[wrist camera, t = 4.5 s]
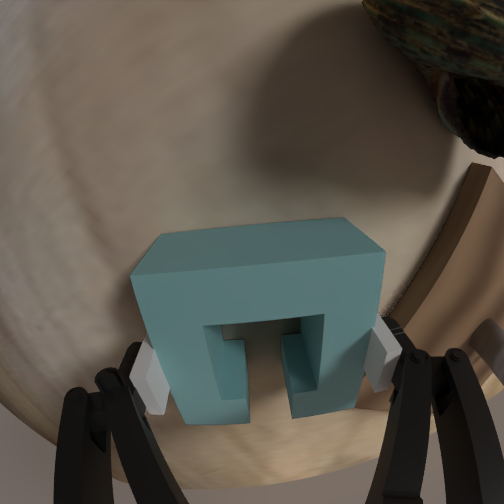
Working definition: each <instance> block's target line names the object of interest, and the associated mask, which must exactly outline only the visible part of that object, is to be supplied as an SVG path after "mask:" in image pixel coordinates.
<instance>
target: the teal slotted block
mask: <svg viewBox="0 0 504 504" xmlns="http://www.w3.org/2000/svg"><path fill="white" fill-rule="evenodd" d="M385 255H386V251H385V250H383V249H382V248H381V247H380V246H379V245H378V244H376V243H375V242H374V241H373V240H371V239H370V238H369V237H368V236H367V235H365V234H364V233H363V232H362V231H360V230H359V229H358V228H357V227H355V226H354V225H353V224H352V223H350V222H349V221H348V220H347V219H345V218H344V217H343V218H328V219H315V220H302V221H290V222H278V223H266V224H255V225H244V226H234V227H224V228H214V229H204V230H194V231H185V232H176V233H167V234H161V235H160V236H159V237H158V239H157V240H156V241H155V243H154V244H153V245H152V246H151V248H150V249H149V250H148V252H147V253H146V254H145V256H144V257H143V258H142V260H141V261H140V262H139V264H138V265H137V266H136V268H135V269H134V270H133V272H132V273H131V275H130V279H131V282H132V286H133V289H134V293H135V296H136V299H137V303H138V306H139V309H140V312H141V315H142V318H143V321H144V324H145V327H146V330H147V333H148V336H149V338H150V341H151V344H152V347H153V349H155V352H156V354H157V357H158V360H159V362H160V365H161V367H162V370H163V372H164V375H165V377H166V380H167V382H168V384H169V387H170V391H171V394H172V396H173V398H174V400H175V403H176V405H177V407H178V409H179V411H180V413H181V415H182V418H183V420H184V422H185V424H186V425H227V424H246V423H250V406H249V386H248V366H247V358H246V351H245V344H244V339H239V340H225V341H224V338H223V333H222V327H221V325H222V324H235V323H247V322H257V321H268V320H277V319H286V318H295V317H301V333H297V334H289V335H281V352H282V366H283V372H284V377H285V382H286V388H287V393H288V399H289V404H290V410H291V415H292V419H295V418H302V417H308V416H314V415H320V414H325V413H330V412H335V411H340V410H345V409H349V408H354V407H355V404H356V401H357V398H358V394H359V391H360V387H361V383H362V380H363V376H364V372H365V371H364V369H363V367H364V363H365V359H366V354H367V350H368V345H369V340H370V336H371V330H372V328H373V327H375V323H376V317H377V312H378V306H379V300H380V293H381V287H382V280H383V272H384V264H385Z"/></svg>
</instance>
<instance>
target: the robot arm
mask: <svg viewBox="0 0 504 504" xmlns="http://www.w3.org/2000/svg"><path fill="white" fill-rule="evenodd" d="M363 369H364V371H365V373H366V375H367V377H368V380H369V382H370V384H371V386H372V388H373V390H374V392H375V393H376V392H380V391H384V390H387V389H389V386H390V384H391V381H392V383H393V385H394V390H393V392H392V395H391V397H390V399H389V402H391V404H390V410H389V415H388V421H387V426H386V430H385V435H384V440H383V444H382V448H381V452H380V456H379V460H378V464H377V467H376V471H375V474H374V478H373V481H372V485H371V488H370V491H369V494H368V497H367V500H366V502H365V504H423V500H422V499H421V498H420V491H421V486H422V482H423V476H424V470H425V463H426V457H427V449H428V441H429V430H430V417H431V405H432V409H433V414H434V418H435V423H436V428H437V433H438V438H439V444H440V450H441V457H442V464H443V471H444V479H445V480H444V481H445V491H446V504H504V459H503V455H502V451H501V447H500V443H499V439H498V436H497V432H496V429H495V426H494V422H493V419H492V416H491V414H490V410H489V407H488V405H487V402H486V399H485V396H484V394H483V391H482V389H481V386H480V384H479V381H478V379H477V376H476V374H475V371H474V369H473V367H472V365H471V362H470V360H469V358H468V356H467V354H466V353H465V352H464V351H463V350H462V349H459V348H450V349H448V350H447V351H446V353H445V356H430V355H429V354H428V353H427V352H426V351H424V350H421V349H417V348H416V347H415V346H414V344H413V343H412V341H411V340H410V339H409V337H408V336H407V335H406V333H404V330H403V329H402V328H401V326H400V325H399V324H398V322H397V321H396V320H394V319H393V318H391V317H390V316H387V317H382V318H381V317H380V315H379V314H378V313H377V317H376V323H375V327H373V328H372V330H371V336H370V340H369V345H368V350H367V354H366V359H365V363H364V367H363ZM95 383H96V385H97V387H98V388H99V390H100V392H94V393H88V392H87V391H86V390H85V389H84V388H82V387H75V388H72V389H71V390H69V391H68V392H67V393H66V395H65V398H64V403H63V409H62V414H61V420H60V427H59V434H58V441H57V450H56V461H55V474H54V504H114V498H113V487H112V472H111V432H112V435H113V439H114V442H115V445H116V449H117V452H118V455H119V458H120V461H121V464H122V466H123V469H124V472H125V475H126V477H127V480H128V483H129V485H130V487H131V490H132V493H133V495H134V497H135V499H136V502H137V504H189V503H188V501H187V499H186V498H185V496H184V494H183V493H182V491H181V489H180V487H179V485H178V484H177V482H176V480H175V478H174V476H173V474H172V472H171V470H170V469H169V467H168V465H167V463H166V461H165V459H164V456H163V454H162V452H161V450H160V448H159V446H158V444H157V442H156V439H155V437H154V435H153V433H152V430H151V428H150V426H149V423H148V421H147V418H146V417H145V415H144V413H145V409H147V410H148V412H149V414H155V415H164V414H165V409H166V405H167V400H168V395H169V390H170V387H169V384H168V382H167V380H166V377H165V375H164V372H163V370H162V367H161V365H160V362H159V360H158V357H157V354H156V352H155V349H153V347H152V344H151V341H150V338H149V336H148V333H147V332H146V335H145V337H144V340H143V342H133V343H132V344H131V345H130V346H129V347H128V349H127V351H126V353H125V357H124V358H123V360H122V362H121V365H120V367H119V369H116V368H111V367H110V368H105V369H103V370H101V371H100V372H99V373H97V375H96V377H95Z"/></svg>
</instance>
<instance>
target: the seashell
mask: <svg viewBox="0 0 504 504" xmlns="http://www.w3.org/2000/svg"><path fill="white" fill-rule="evenodd" d="M362 4H363V7H364V8H365V9H366V11H367V12H368V14H369V17H370V21H371V22H372V23H373V25H374V26H375V27H376V28H377V29H378V30H379V31H380V32H381V33H382V35H383V36H384V37H385V38H386V39H387V40H388V41H390V42H391V43H392V44H393V45H394V46H395V47H396V48H397V49H398V50H399V51H401V52H402V53H403V54H404V55H405V56H407V57H408V58H409V59H410V60H411V61H412V62H413V64H414V66H415V67H416V68H417V69H419V71H420V72H421V73H422V74H423V76H424V78H425V80H426V81H427V83H428V85H429V87H430V90H431V92H432V94H433V98H434V101H435V103H436V108H437V111H438V114H439V118H440V120H441V122H442V123H443V124H444V126H445V127H446V129H447V130H449V131H450V132H452V133H453V134H455V135H456V136H458V137H459V138H461V139H462V140H463V143H464V144H466V145H467V146H468V147H469V148H470V149H474V150H475V151H476V152H477V153H478V154H482V155H484V156H487V157H490V158H493V159H496V158H497V157H503V158H504V0H363V1H362Z"/></svg>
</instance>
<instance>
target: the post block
mask: <svg viewBox="0 0 504 504" xmlns="http://www.w3.org/2000/svg"><path fill="white" fill-rule="evenodd" d="M389 316H390V317H391V318H393V319H394V320H396V321H397V322H398V324H399V325H400V326H401V328H402V329H403V330H404V333H406V335H407V336H408V337H409V339H410V340H411V341H412V343H413V344H414V346H415V347H416V348H417V349H421V350H424V351H426V352H427V353H428V354H429V355H430V356H445V353H446V351H447V350H448V349H450V348H459V349H462V350H463V351H464V352H465V353H466V354H467V356H468V358H469V360H470V362H471V365H472V367H473V369H474V371H475V374H476V376H477V379H478V381H479V384H480V386H482V385H483V383H484V382H485V381H486V380H487V379H488V378H489V376H490V375H491V374H492V373H494V374H495V375H496V376H497V378H498V379H499V380H500V381H501V383H502V384H503V385H504V183H503V181H502V180H501V178H500V177H499V176H498V174H497V173H496V172H495V170H494V169H493V168H492V167H490V166H486V165H481V164H477V163H473V162H472V165H471V167H470V170H469V172H468V175H467V177H466V179H465V182H464V184H463V187H462V189H461V191H460V193H459V196H458V198H457V200H456V202H455V204H454V206H453V209H452V211H451V213H450V215H449V217H448V219H447V221H446V223H445V225H444V227H443V229H442V231H441V232H440V234H439V236H438V238H437V240H436V242H435V244H434V245H433V247H432V249H431V251H430V253H429V254H428V256H427V258H426V259H425V261H424V263H423V265H422V266H421V268H420V270H419V271H418V273H417V274H416V276H415V278H414V279H413V281H412V282H411V284H410V286H409V287H408V289H407V290H406V292H405V293H404V295H403V296H402V298H401V299H400V301H399V302H398V304H397V305H396V307H395V308H394V309H393V311H392V312H391V314H390V315H389ZM393 390H394V385H393V383H392V381H391V384H390V386H389V389H387V390H384V391H380V392H376V393H375V392H374V390H373V388H372V386H371V384H370V382H369V380H368V377H367V375H366V373H365V372H364V376H363V380H362V383H361V387H360V391H359V394H358V398H357V401H356V404H355V407H354V408H362V409H372V410H383V411H389V410H390V404H391V402H389V399H390V397H391V395H392V392H393ZM431 413H433V409H432V405H431Z"/></svg>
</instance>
